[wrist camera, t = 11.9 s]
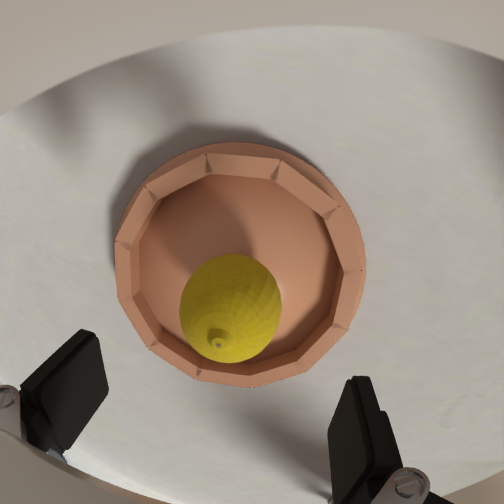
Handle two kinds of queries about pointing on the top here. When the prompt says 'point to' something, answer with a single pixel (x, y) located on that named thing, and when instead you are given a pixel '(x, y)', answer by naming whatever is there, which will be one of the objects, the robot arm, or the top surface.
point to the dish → (244, 243)
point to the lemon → (230, 308)
